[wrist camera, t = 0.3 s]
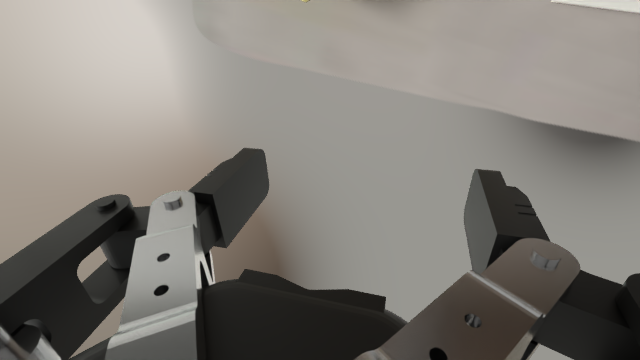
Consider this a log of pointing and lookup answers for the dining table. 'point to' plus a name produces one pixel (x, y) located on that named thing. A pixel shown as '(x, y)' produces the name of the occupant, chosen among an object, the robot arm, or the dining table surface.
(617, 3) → the scale
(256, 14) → the dining table surface
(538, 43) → the dining table surface
